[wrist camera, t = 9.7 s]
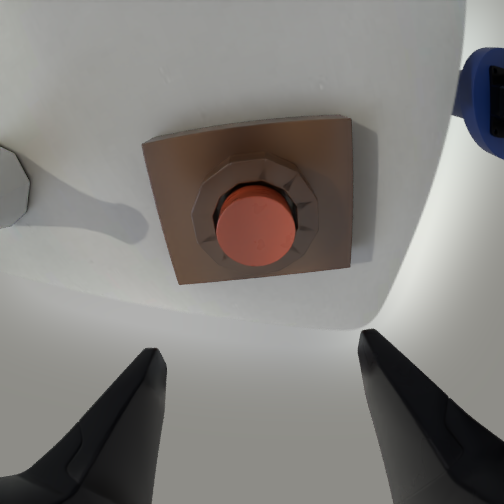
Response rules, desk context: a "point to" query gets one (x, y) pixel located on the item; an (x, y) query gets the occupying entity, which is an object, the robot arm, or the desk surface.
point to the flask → (12, 189)
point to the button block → (255, 173)
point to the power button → (255, 226)
